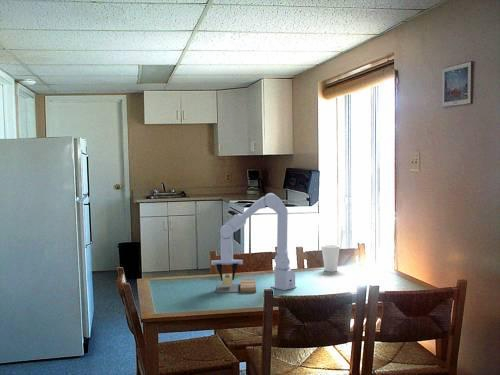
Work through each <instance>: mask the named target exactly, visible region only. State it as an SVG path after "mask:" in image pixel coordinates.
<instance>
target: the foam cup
mask: <svg viewBox="0 0 500 375" xmlns="http://www.w3.org/2000/svg"><path fill="white" fill-rule="evenodd" d="M320 247H321V253H322V261H323V268H324V272H325V271H326V272H336V271H338V265H339V264H338V263H339V257H340V250H341V248H340V247H341V246H340V245H339V244H333V243H332V244H331V243H329V244H322V245H321V246H320Z"/></svg>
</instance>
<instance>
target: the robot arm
mask: <svg viewBox="0 0 500 375" xmlns="http://www.w3.org/2000/svg"><path fill="white" fill-rule="evenodd" d="M283 202H284V201H282V199H281V198H280V197H279V196H278V195H276V194H275V193H273V192H269V193H266V194H265V195H264V196H262V197H260V198H258V199H257V200H256V201H255V202H254V203H253V204H252V205H251V206H249V207H248V208H247V209H245V211H243V213H237V214H234V215H233V216H232V218H231V219H229V220H228V221H226V222H225V224H224V225H222V226H221V227H220V230H219V234H220V259H216V260H213V259H212V260H211V261H210V263H211V266H216V269H217V271H218V273H219V276H220V281H222V276H223V266H224V265H231V266H232V269H231V270H232V271H231V272H232V273H231V274H232V281H234V280H235V274H236V273H237V268H238V267H239V266H238V265H243V264H244V262H243V261H244V260H243V259H234V242H233V234H234V233H235V232H237V231H239V229H241V228H242V227H243V226H244V225H246V223H247V219H248V218H250V217H251V216H252V215H254V214H256V212H258V211H259V210H260V209H261V210H262V209H267V208H269V209H271V210H273V211H274V212H275V213H276V214H277V226H276V228H277V229H276V231H277V234H276V236H277V238H276V254H275V256H274V262H275V266H274V268H273V269H274V271H273V272H274V275H273V276H274V284H273V285H270V288H274V289H277V290H283V291H286V290H291V289H296V288H297V285H296V274H295V271H294V270H292V269H291V266H290V263H291V262H290V259H289V253H288V217H289V216H288V215H289V214H288V208H287V207H286V205H285V204H284V203H283Z"/></svg>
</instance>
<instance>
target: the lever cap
mask: <svg viewBox="0 0 500 375" xmlns="http://www.w3.org/2000/svg"><path fill="white" fill-rule="evenodd" d="M221 284H223V285H232V284H233V280H232V273H225V274H223V273H222V283H221Z"/></svg>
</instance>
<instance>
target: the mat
mask: <svg viewBox="0 0 500 375" xmlns="http://www.w3.org/2000/svg"><path fill="white" fill-rule="evenodd" d="M239 284H240V283H232V285H223V284H222V283H221V284H220V283H218V284H217V286H216V292H215V293H216V294H230V293H231V294H237V293H238V294H239V287H240V286H239Z"/></svg>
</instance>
